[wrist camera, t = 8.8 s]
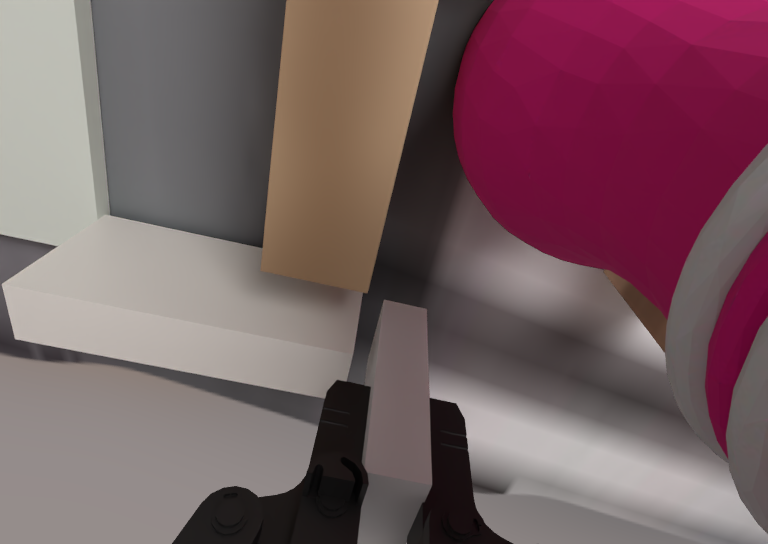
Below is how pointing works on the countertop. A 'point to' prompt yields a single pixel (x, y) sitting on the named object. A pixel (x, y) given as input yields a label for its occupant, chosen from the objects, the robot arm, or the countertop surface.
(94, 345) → the white rectangular block
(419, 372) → the robot arm
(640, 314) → the block
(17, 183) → the plate
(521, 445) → the countertop surface
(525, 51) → the pepper mill
